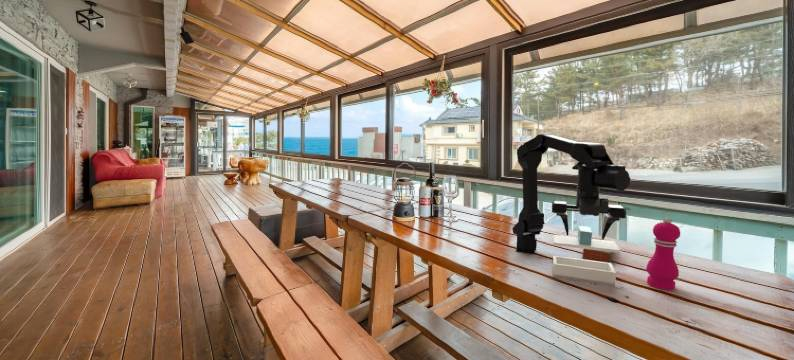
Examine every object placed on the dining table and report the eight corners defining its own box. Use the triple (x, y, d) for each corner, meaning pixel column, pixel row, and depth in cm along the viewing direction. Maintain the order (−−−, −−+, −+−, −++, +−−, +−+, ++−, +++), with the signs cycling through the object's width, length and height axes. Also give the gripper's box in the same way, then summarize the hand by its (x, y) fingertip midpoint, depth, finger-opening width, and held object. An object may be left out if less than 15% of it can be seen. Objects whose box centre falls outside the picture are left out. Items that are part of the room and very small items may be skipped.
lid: (553, 245, 98) (554, 229, 97) (552, 237, 106) (553, 222, 105) (619, 253, 91) (621, 236, 91) (614, 243, 99) (615, 228, 99)
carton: (614, 251, 122) (615, 240, 121) (609, 265, 110) (611, 252, 109) (589, 247, 127) (590, 236, 127) (581, 259, 115) (582, 247, 114)
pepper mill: (679, 293, 89) (687, 221, 86) (646, 287, 92) (653, 218, 90) (674, 283, 95) (682, 216, 92) (643, 278, 98) (649, 213, 96)
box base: (552, 276, 100) (553, 264, 99) (552, 267, 107) (553, 255, 106) (615, 286, 93) (616, 272, 92) (610, 275, 100) (611, 263, 100)
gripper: (553, 187, 93) (550, 240, 95) (633, 192, 85) (627, 249, 87) (553, 182, 103) (550, 231, 105) (623, 186, 95) (619, 238, 97)
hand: (584, 237), depth 98 cm, fingers open, 9 cm apart
